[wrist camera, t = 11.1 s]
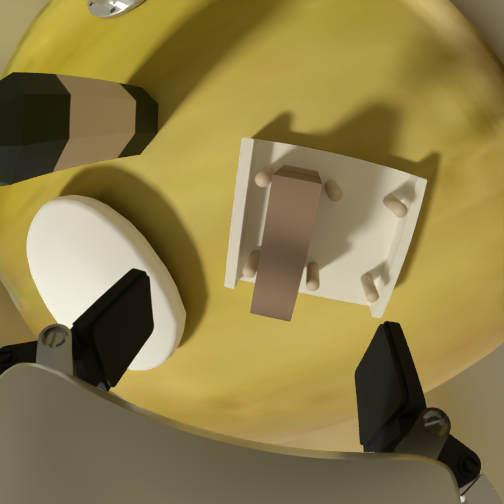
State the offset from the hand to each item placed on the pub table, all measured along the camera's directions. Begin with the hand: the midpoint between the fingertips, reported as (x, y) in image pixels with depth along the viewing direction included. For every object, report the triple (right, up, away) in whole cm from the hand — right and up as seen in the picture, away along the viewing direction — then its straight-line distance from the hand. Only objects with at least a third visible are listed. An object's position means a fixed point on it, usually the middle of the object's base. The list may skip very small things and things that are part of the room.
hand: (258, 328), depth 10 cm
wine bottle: (-14, +17, +15) cm, 27 cm away
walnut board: (+3, +6, +15) cm, 16 cm away
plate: (-22, -1, +25) cm, 33 cm away
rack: (+6, +6, +16) cm, 18 cm away
